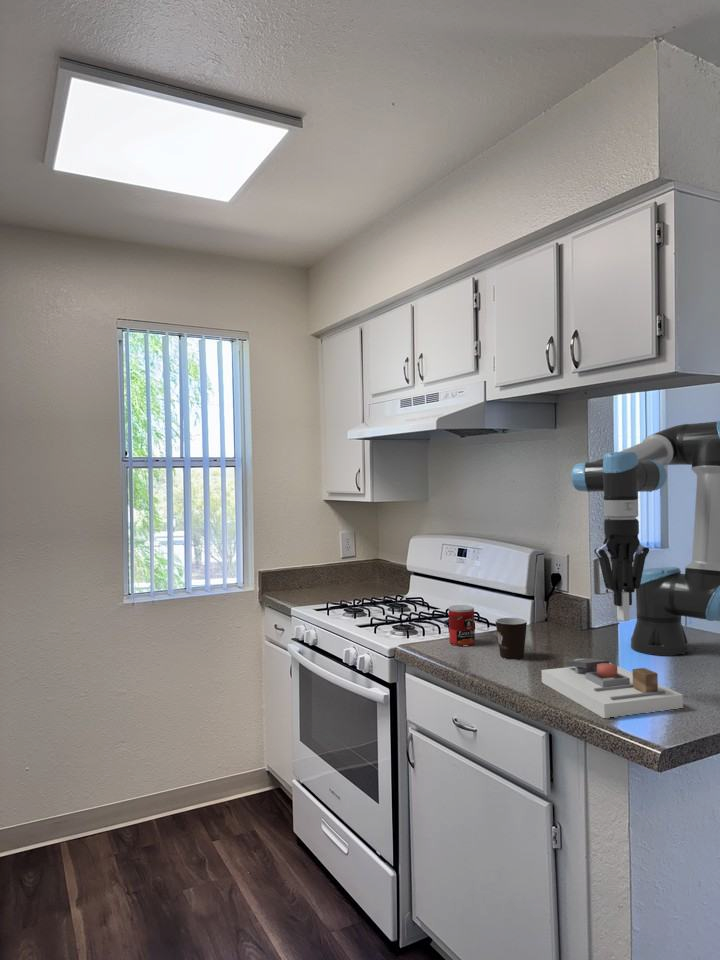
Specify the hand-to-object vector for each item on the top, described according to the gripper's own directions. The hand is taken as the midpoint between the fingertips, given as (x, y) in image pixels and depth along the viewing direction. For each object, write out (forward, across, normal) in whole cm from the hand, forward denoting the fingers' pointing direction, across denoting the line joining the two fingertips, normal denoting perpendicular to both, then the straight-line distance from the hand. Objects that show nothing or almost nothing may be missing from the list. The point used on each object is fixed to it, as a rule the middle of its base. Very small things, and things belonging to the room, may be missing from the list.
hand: (623, 619), depth 156 cm
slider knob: (+14, -1, -9) cm, 16 cm away
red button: (+12, -5, -1) cm, 13 cm away
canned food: (+17, -21, +53) cm, 60 cm away
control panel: (+17, -5, -1) cm, 17 cm away
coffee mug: (+17, -12, +37) cm, 42 cm away
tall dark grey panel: (+12, -5, +7) cm, 15 cm away
